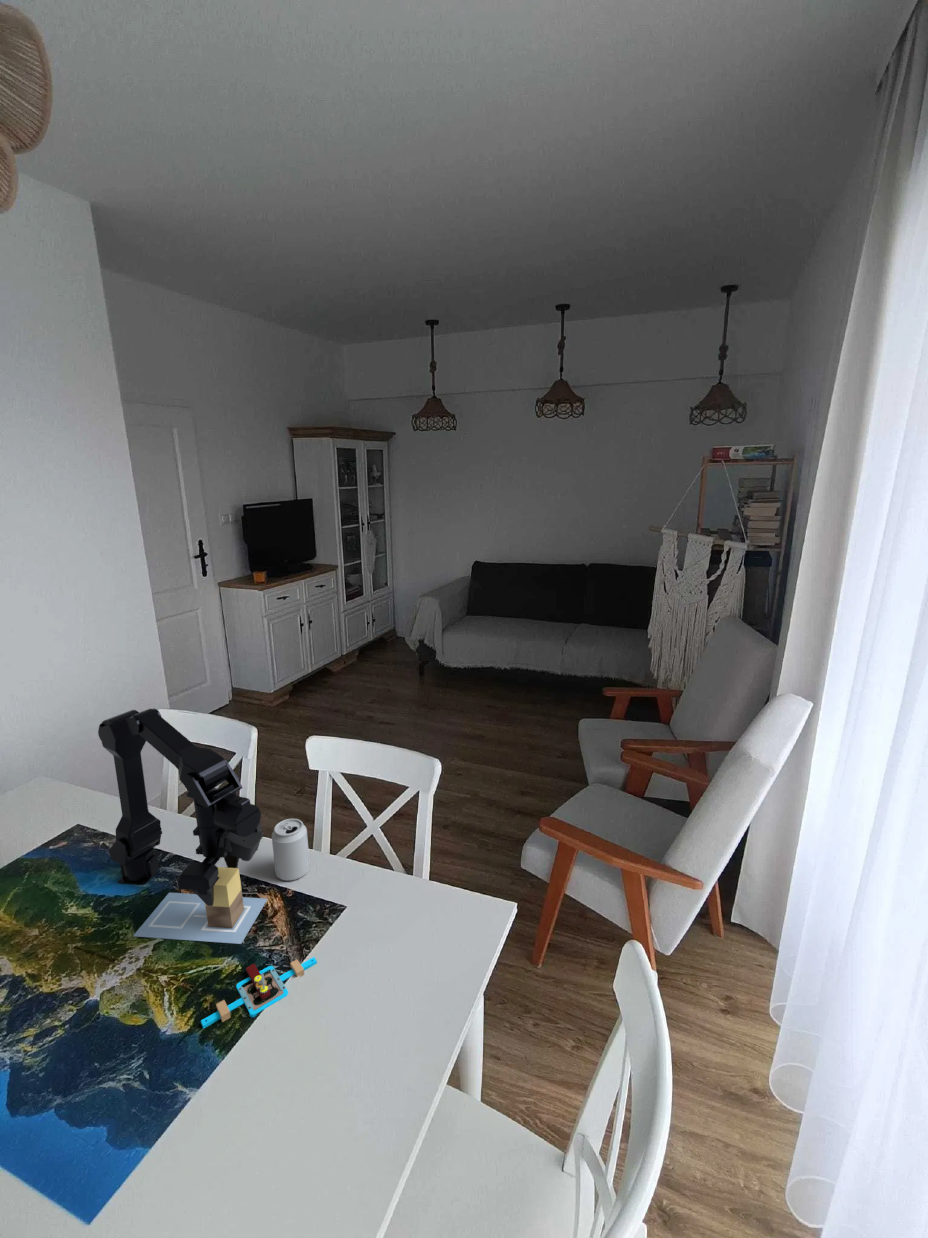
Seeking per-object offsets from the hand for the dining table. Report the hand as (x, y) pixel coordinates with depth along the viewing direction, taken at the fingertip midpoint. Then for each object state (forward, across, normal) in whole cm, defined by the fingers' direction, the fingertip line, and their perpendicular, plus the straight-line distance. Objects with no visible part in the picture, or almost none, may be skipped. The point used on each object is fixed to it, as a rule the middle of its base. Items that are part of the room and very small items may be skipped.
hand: (222, 888), depth 115 cm
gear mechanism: (+8, -15, -14) cm, 22 cm away
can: (+8, +15, -8) cm, 19 cm away
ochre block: (+2, 0, 0) cm, 2 cm away
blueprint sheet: (+8, 0, +5) cm, 9 cm away
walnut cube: (+7, 0, 0) cm, 7 cm away
